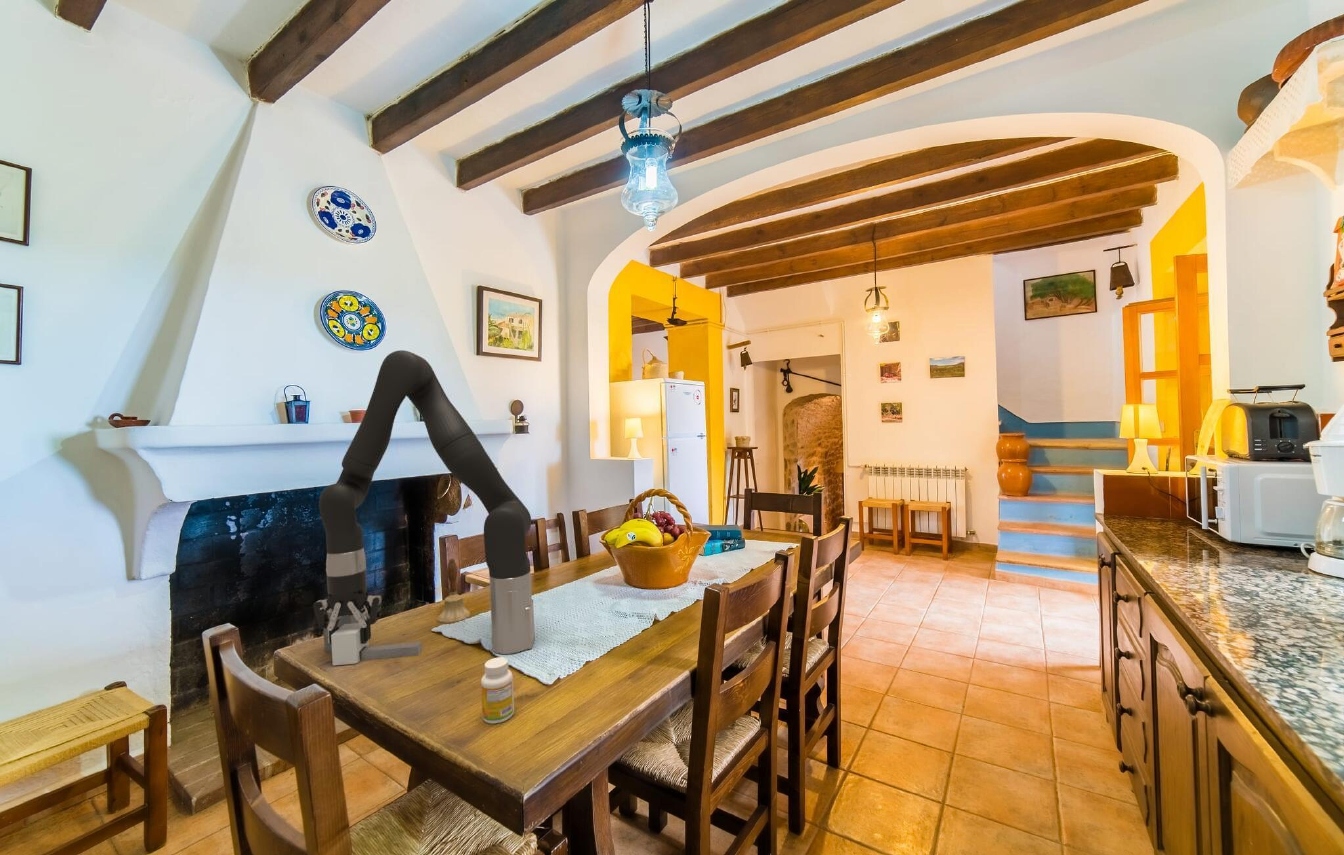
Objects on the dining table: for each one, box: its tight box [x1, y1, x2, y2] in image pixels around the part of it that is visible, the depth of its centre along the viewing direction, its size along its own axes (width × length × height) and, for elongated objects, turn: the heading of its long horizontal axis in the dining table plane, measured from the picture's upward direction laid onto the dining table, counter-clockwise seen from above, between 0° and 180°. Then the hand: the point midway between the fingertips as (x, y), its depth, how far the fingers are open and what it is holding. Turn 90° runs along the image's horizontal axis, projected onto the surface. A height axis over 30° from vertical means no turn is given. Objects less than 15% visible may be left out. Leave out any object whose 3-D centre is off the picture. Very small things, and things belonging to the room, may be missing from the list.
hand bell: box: [437, 558, 471, 624], centre depth 140 cm, size 8×8×16 cm
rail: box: [359, 641, 423, 661], centre depth 118 cm, size 18×2×2 cm, turn 98°
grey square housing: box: [323, 607, 359, 653], centre depth 125 cm, size 6×7×9 cm
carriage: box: [331, 623, 370, 667], centre depth 117 cm, size 5×6×7 cm
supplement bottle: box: [480, 656, 515, 725], centre depth 93 cm, size 5×5×10 cm
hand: (350, 643), depth 117 cm, fingers open, 5 cm apart
